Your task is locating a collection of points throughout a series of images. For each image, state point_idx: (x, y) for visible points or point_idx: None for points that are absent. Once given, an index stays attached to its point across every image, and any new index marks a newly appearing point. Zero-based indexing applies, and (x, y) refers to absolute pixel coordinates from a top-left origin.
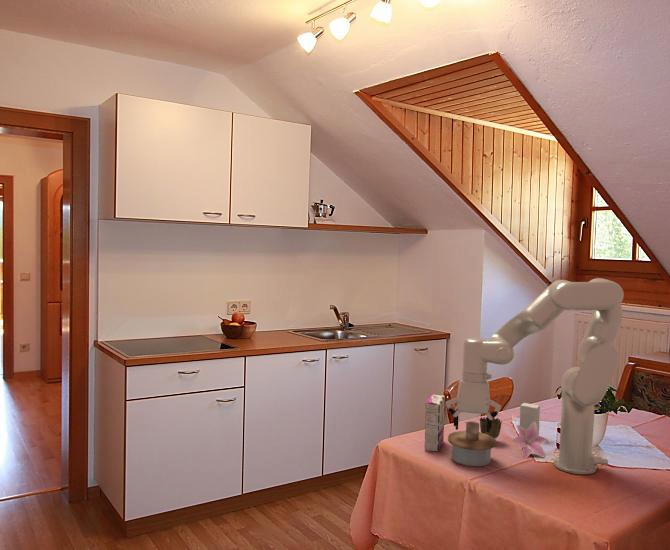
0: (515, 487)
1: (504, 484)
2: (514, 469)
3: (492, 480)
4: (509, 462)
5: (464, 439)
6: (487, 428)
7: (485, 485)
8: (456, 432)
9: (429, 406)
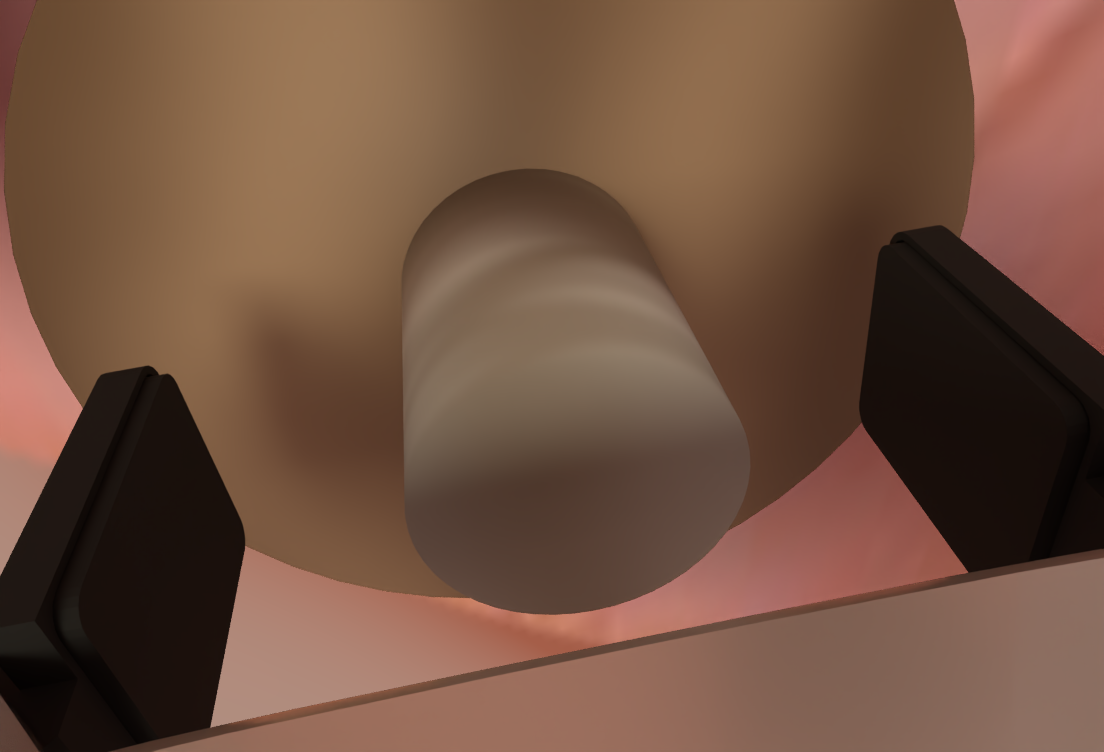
0: (889, 573)
1: (814, 563)
2: (989, 222)
3: (725, 540)
4: (995, 6)
5: (399, 383)
6: (909, 470)
7: (665, 631)
8: (91, 11)
9: None
